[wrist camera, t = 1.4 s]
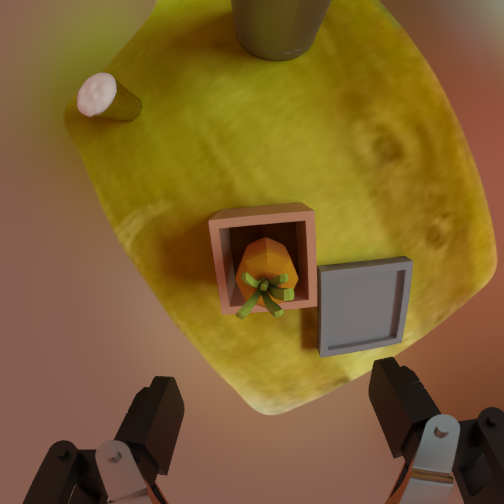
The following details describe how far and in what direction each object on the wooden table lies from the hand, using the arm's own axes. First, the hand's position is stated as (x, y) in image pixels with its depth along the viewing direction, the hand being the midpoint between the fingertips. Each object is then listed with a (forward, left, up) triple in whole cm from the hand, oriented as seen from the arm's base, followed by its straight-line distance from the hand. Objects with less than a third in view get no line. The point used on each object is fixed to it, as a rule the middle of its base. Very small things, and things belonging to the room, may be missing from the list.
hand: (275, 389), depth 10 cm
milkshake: (-18, -14, -22) cm, 32 cm away
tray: (+9, +12, -22) cm, 27 cm away
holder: (0, 0, -22) cm, 22 cm away
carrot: (0, 0, -22) cm, 22 cm away
